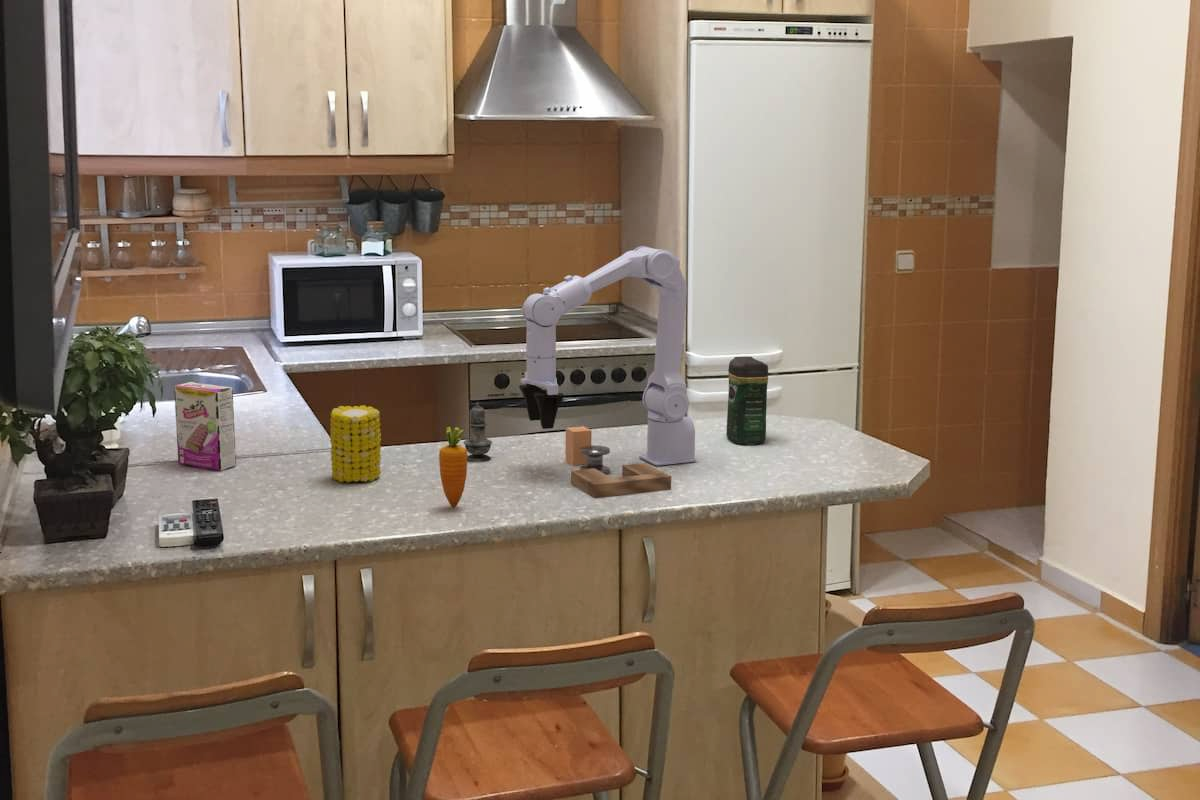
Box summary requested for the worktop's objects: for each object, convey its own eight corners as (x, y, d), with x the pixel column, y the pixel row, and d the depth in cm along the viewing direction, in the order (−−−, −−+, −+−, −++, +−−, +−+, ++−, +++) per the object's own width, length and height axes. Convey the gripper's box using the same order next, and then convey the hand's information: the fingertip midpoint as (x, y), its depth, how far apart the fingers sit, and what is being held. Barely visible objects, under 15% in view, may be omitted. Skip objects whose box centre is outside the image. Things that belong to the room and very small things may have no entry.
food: (377, 478, 261) (377, 494, 251) (318, 467, 258) (316, 483, 249) (393, 406, 258) (394, 419, 248) (333, 394, 255) (332, 407, 245)
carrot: (440, 503, 238) (439, 423, 235) (467, 503, 239) (467, 423, 236) (439, 511, 233) (438, 429, 230) (467, 511, 234) (466, 429, 231)
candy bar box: (176, 465, 263) (172, 385, 260) (194, 460, 267) (189, 381, 264) (220, 472, 258) (216, 390, 255) (237, 466, 263) (233, 386, 259)
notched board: (645, 475, 260) (645, 462, 259) (671, 488, 250) (671, 476, 249) (570, 483, 253) (570, 470, 252) (594, 497, 243) (594, 484, 243)
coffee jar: (770, 444, 286) (773, 360, 282) (735, 446, 284) (738, 362, 280) (755, 435, 295) (758, 353, 291) (722, 436, 293) (724, 354, 290)
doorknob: (601, 466, 266) (602, 444, 265) (614, 473, 261) (614, 450, 260) (574, 469, 263) (574, 446, 263) (587, 476, 258) (587, 453, 257)
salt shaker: (487, 463, 268) (487, 405, 265) (460, 461, 269) (459, 404, 266) (495, 456, 273) (495, 399, 271) (468, 454, 274) (467, 398, 272)
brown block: (583, 459, 272) (583, 426, 270) (591, 463, 268) (591, 430, 267) (565, 461, 270) (565, 427, 269) (573, 465, 267) (573, 432, 265)
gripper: (510, 351, 261) (510, 417, 263) (533, 363, 247) (533, 433, 250) (544, 349, 263) (544, 415, 266) (568, 361, 250) (568, 430, 253)
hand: (541, 424), depth 258 cm, fingers open, 7 cm apart
